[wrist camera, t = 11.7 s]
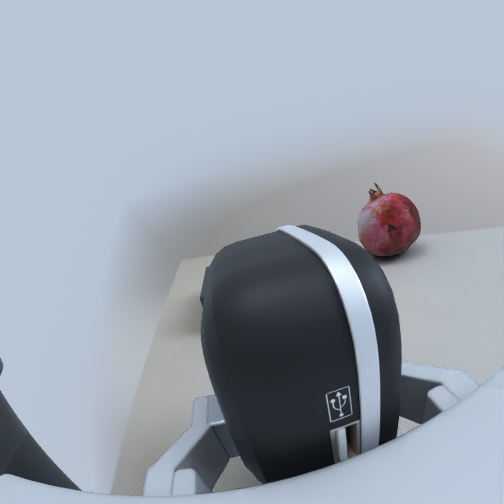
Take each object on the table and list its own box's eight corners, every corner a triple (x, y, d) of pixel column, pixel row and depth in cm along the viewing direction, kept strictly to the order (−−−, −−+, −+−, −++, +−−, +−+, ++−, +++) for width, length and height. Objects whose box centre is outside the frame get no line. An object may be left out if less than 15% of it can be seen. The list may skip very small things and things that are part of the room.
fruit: (429, 241, 37) (419, 173, 35) (415, 265, 31) (403, 181, 28) (375, 243, 43) (363, 181, 41) (351, 265, 37) (336, 191, 35)
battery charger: (266, 446, 13) (197, 240, 11) (334, 426, 13) (297, 214, 11) (290, 554, 6) (156, 317, 4) (382, 524, 6) (409, 246, 4)
